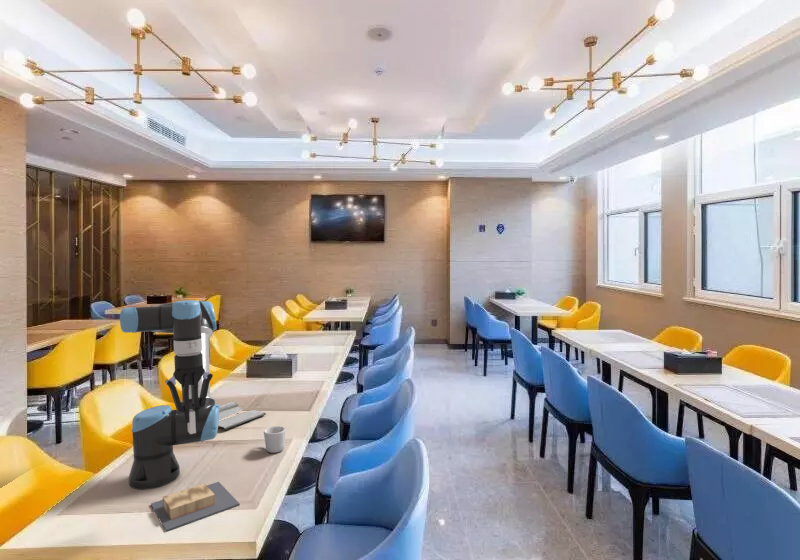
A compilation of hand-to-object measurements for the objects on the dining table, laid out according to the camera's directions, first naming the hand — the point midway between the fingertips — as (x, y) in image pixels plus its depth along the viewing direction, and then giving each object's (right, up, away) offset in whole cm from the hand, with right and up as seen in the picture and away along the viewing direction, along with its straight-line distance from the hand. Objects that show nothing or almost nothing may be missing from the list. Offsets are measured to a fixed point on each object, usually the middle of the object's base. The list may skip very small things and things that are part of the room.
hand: (191, 432), depth 138 cm
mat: (-16, -19, +74) cm, 78 cm away
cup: (+13, -20, +40) cm, 47 cm away
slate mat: (0, -22, +1) cm, 22 cm away
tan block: (+4, -20, +4) cm, 21 cm away
